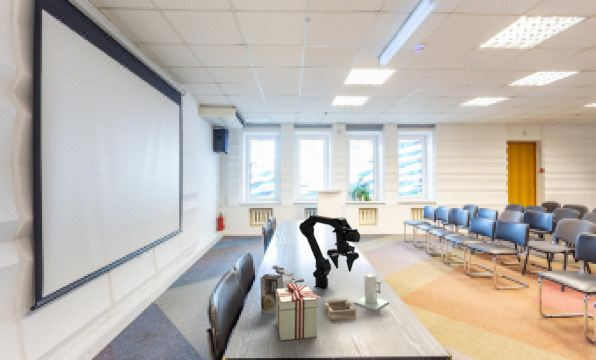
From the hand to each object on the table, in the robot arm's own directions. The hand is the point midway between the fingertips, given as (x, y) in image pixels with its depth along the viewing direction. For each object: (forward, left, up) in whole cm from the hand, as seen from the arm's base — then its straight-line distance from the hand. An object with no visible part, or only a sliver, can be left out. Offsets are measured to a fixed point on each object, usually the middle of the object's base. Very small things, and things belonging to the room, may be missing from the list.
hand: (343, 269), depth 156 cm
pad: (+16, -7, -13) cm, 22 cm away
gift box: (-6, -44, -13) cm, 46 cm away
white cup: (-27, -18, -13) cm, 35 cm away
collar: (+5, -24, -13) cm, 27 cm away
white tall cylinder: (+17, -7, -12) cm, 22 cm away
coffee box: (-25, -34, -13) cm, 44 cm away
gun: (-46, +14, -13) cm, 49 cm away
